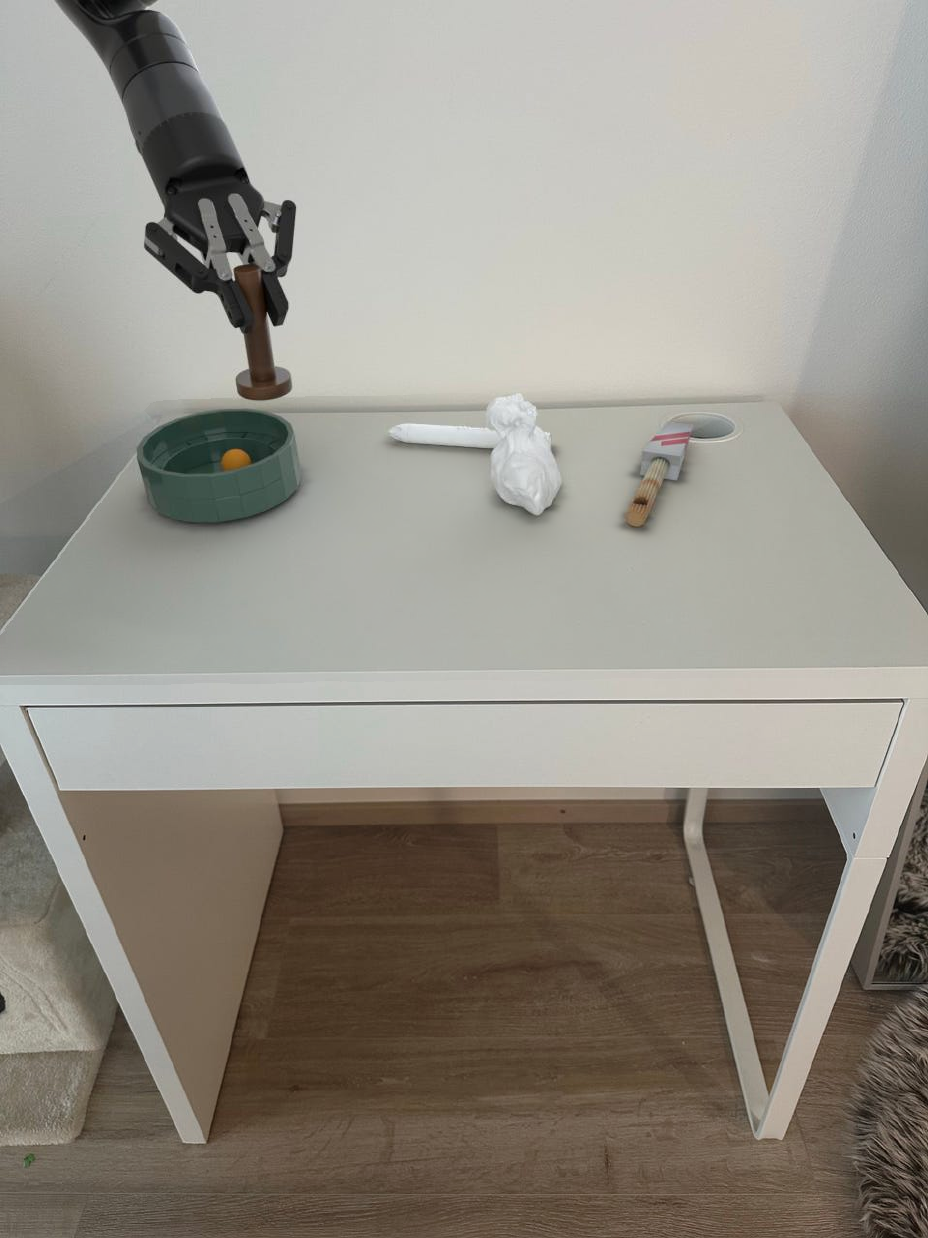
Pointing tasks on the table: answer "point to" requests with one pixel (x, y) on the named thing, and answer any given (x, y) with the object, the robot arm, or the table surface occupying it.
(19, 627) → the table surface
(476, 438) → the marker
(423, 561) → the table surface
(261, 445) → the bowl
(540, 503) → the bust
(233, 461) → the bead
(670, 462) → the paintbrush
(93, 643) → the table surface
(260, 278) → the wooden peg stand
